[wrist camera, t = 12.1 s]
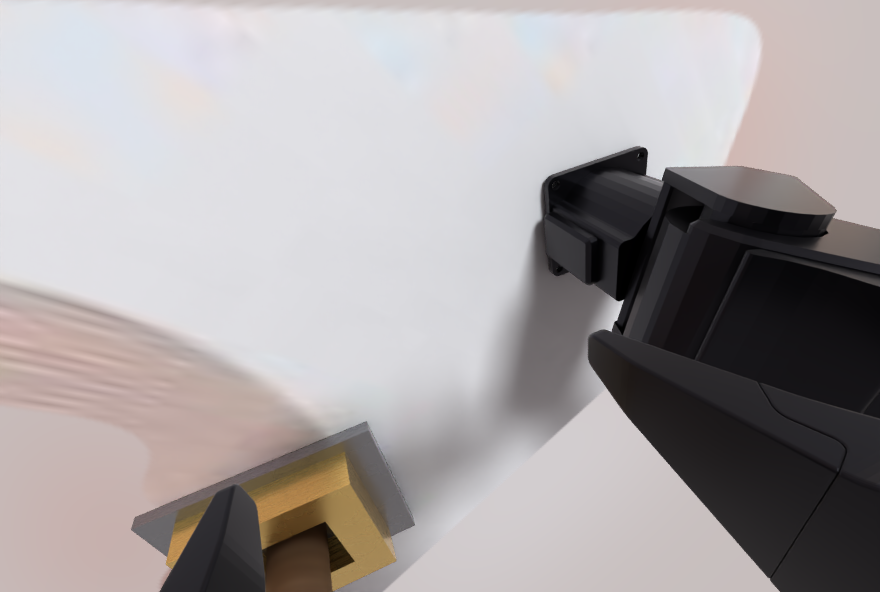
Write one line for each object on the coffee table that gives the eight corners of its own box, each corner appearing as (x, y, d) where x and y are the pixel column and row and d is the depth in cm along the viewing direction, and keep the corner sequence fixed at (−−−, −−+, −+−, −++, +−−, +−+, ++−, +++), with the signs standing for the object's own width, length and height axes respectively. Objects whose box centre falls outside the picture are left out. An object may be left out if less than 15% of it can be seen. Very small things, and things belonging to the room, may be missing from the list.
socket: (366, 421, 27) (376, 461, 25) (412, 516, 35) (423, 554, 32) (134, 517, 25) (117, 573, 22) (236, 597, 32) (233, 646, 30)
